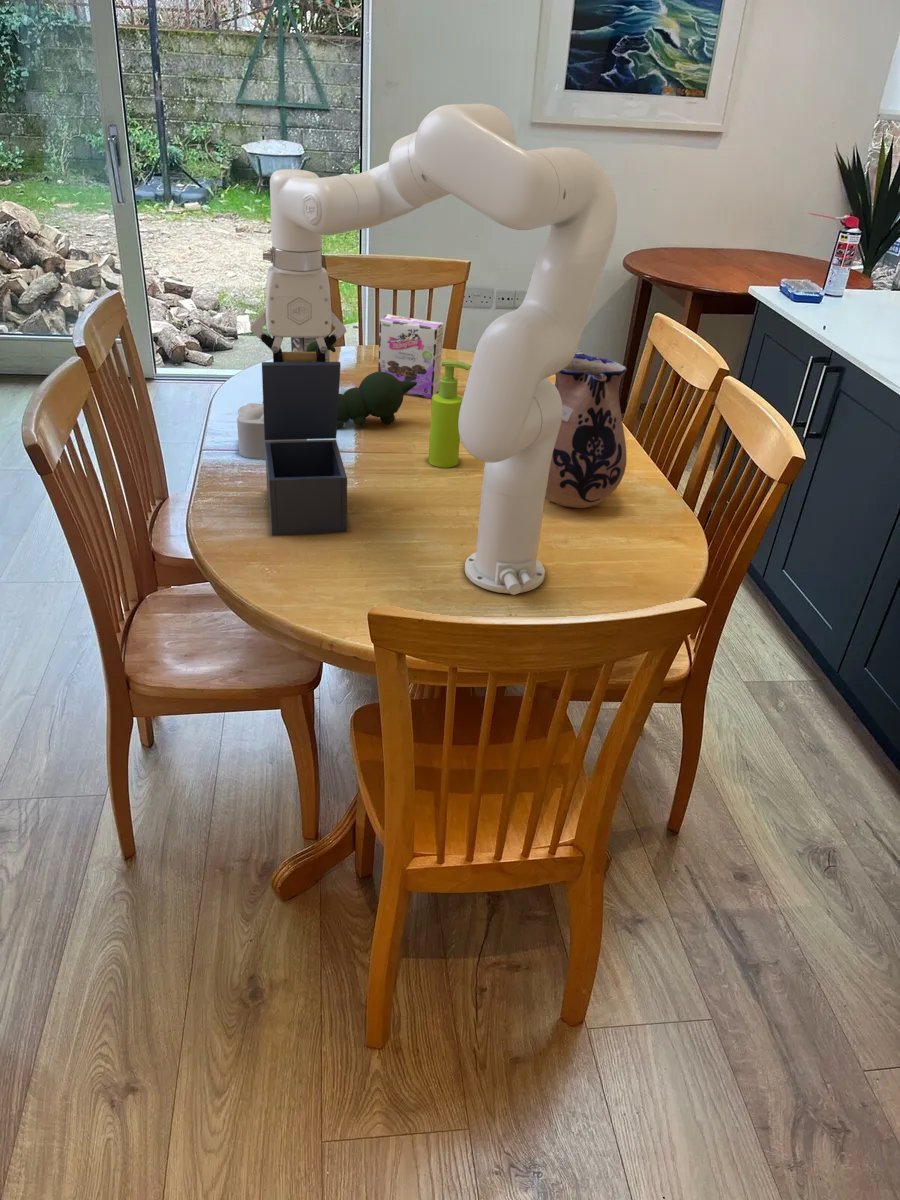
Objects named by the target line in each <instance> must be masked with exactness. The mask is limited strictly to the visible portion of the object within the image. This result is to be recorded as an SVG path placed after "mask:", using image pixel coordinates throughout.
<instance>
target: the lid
mask: <svg viewBox="0 0 900 1200" xmlns="http://www.w3.org/2000/svg"><path fill="white" fill-rule="evenodd" d="M282 357H283V362H273V361H262V362H261V381H262V382H261V384H262V403H263V412H264V438H265V440H293V439H307V440H337V435H338V434H337V432H338V428H337V418H338V400H339V394H340V380H341V361H330V362H317V354H316V352H292V351H282Z"/></svg>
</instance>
